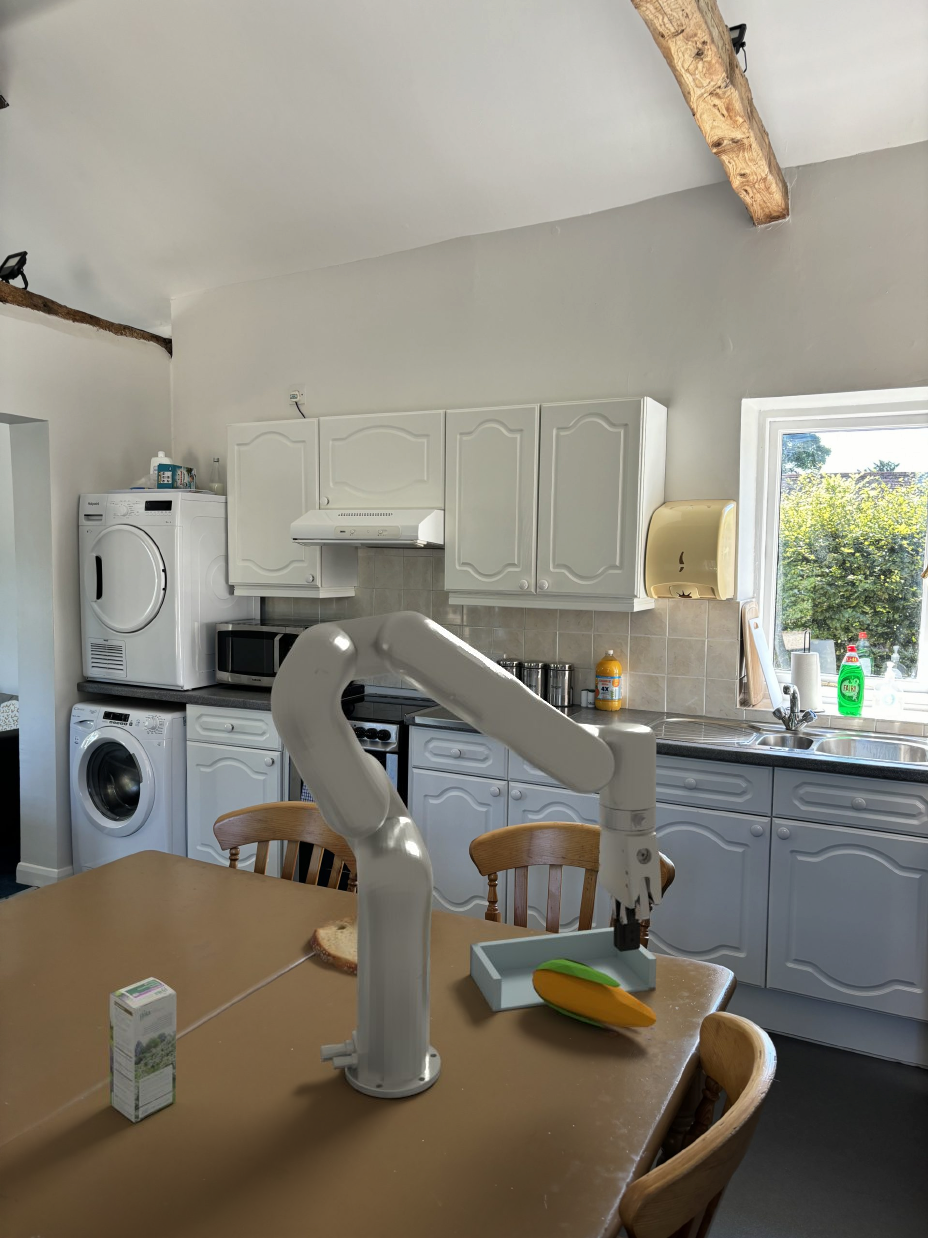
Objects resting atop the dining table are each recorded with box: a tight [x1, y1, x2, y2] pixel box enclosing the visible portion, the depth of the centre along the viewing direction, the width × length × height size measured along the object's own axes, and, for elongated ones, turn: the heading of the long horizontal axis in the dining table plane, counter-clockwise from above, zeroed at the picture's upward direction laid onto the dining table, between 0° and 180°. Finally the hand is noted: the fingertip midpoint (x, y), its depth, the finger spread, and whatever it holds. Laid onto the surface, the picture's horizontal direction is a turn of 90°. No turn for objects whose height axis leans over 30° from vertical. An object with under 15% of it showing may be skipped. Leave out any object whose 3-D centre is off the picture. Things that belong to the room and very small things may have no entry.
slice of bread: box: [309, 915, 358, 975], centre depth 149 cm, size 18×18×4 cm
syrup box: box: [109, 976, 177, 1124], centre depth 106 cm, size 6×6×14 cm
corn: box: [532, 959, 657, 1029], centre depth 127 cm, size 7×8×20 cm
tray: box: [469, 926, 657, 1013], centre depth 139 cm, size 27×12×5 cm, turn 106°
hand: (626, 947), depth 118 cm, fingers closed
